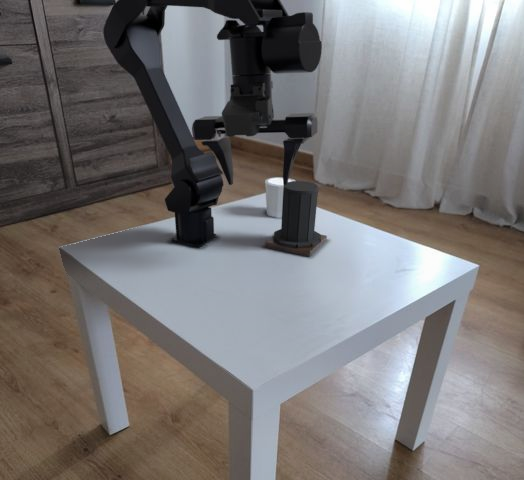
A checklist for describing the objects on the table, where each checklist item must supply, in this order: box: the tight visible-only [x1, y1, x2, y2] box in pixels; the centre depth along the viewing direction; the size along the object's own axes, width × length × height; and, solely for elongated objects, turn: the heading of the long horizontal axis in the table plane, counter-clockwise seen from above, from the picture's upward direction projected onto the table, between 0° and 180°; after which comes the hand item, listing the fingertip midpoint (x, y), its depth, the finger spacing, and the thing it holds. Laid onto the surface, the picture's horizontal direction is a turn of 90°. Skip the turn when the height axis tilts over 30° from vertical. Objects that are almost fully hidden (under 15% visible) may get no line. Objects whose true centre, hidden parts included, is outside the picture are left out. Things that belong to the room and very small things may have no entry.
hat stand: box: [264, 233, 328, 258], centre depth 92 cm, size 9×9×6 cm
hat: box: [272, 180, 322, 248], centre depth 91 cm, size 9×9×10 cm
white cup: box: [264, 176, 296, 219], centre depth 106 cm, size 7×7×7 cm
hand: (257, 184), depth 80 cm, fingers open, 9 cm apart
